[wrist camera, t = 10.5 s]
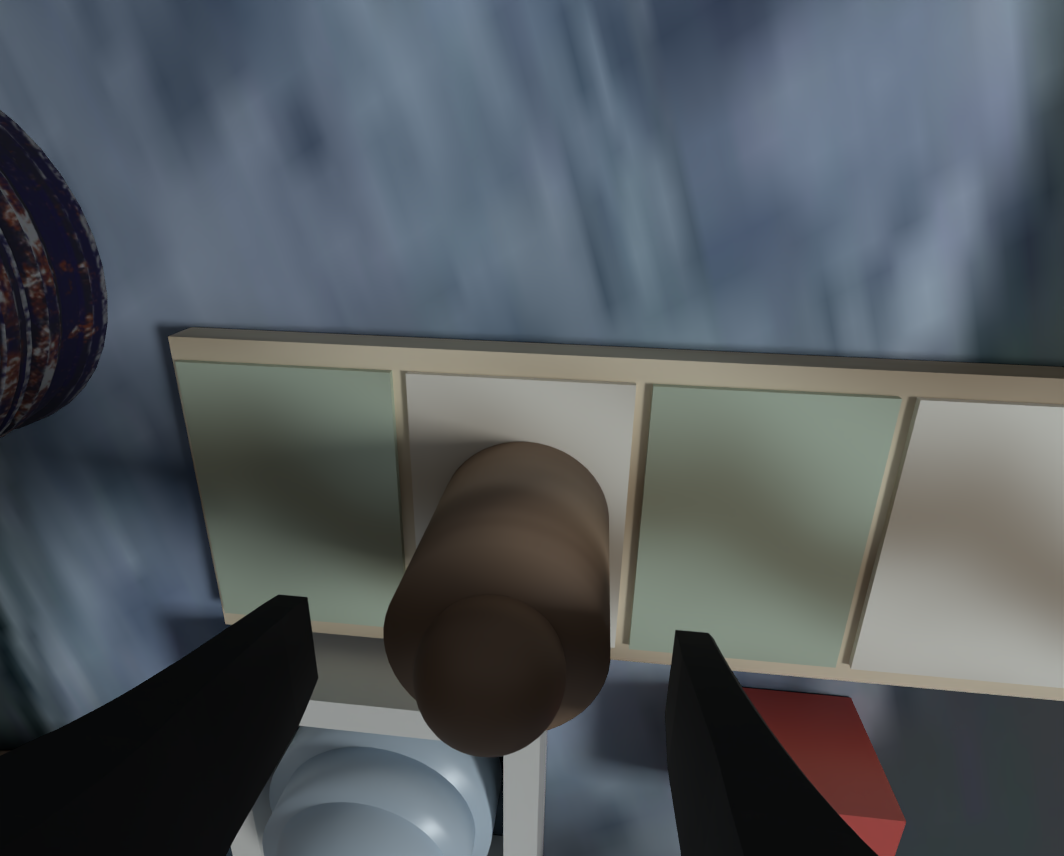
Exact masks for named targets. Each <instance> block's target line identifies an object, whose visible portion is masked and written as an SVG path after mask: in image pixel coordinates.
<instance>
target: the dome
mask: <svg viewBox="0 0 1064 856" xmlns="http://www.w3.org/2000/svg"><path fill="white" fill-rule="evenodd" d="M501 780H502V771H501V763H500V760H499V757H477V756H471V755H468V754H465V753H462V752H460V751H457V750H455V749H453V748H451V747H450V746H448V745H447V744H445V743H444V742H443V741H439V740H429V739H420V738H411V737H401V736H392V735H382V734H373V733H363V732H354V731H345V730H335V729H326V728H316V727H307V726H300V727H299V729H298V730H297V732H296V734H295V736H294V738H293V740H292V741H291V743H290V745H289V747H288V749H287V750H286V752H285V754H284V756H283V758H282V760H281V761H280V763H279V765H278V767H277V769H276V771H275V773H274V775H273V777H272V780H271V784H270V790H269V801H270V808H271V812H272V814H271V816H270V818H269V820H268V822H267V824H266V826H265V829H264V833H263V841H262V845H263V853H264V856H487V854H488V852H489V848H490V845H491V840H492V834H493V828H494V823H495V817H496V811H497V806H498V800H499V794H500V789H501Z"/></svg>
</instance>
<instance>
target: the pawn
mask: <svg viewBox="0 0 1064 856" xmlns="http://www.w3.org/2000/svg"><path fill="white" fill-rule="evenodd" d="M383 640H384V646H385V652H386V655H387V658H388V661H389V664H390V666H391V668H392V670H393V672H394V674H395V676H396V677H397V679H398V680H399V682H400V683H401V685H402V686H403V687H404V688H405V690H406V691H407V692H408V693H409V694H410V695H411V696H412V697H413V698H414V699H415V700H416V702H417V706H418V709H419V711H420V713H421V715H422V717H423V719H424V721H425V722H426V724H427V725H428V727H429V728H430V729H431V730H432V732H433V733H434V734H435V735H436V736H437V737H438V738H439V739H440V740H441V741H443V742H444V743H445V744H447V745H448V746H450V747H451V748H453V749H455V750H457V751H460V752H462V753H465V754H468V755H471V756H477V757H499V756H505V755H508V754H511V753H514V752H516V751H519V750H521V749H523V748H525V747H527V746H528V745H529V744H531V743H532V742H533V741H535V740H536V739H537V738H539V737H540V736H541V735H542V734H543V733H544V731H546V730H550V729H552V728H555V727H557V726H560V725H562V724H564V723H566V722H568V721H569V720H571V719H573V718H574V717H576V716H577V715H578V714H580V713H581V712H583V711H584V710H585V709H586V708H587V707H588V706H589V705H590V704H591V703H592V702H593V700H594V699H595V698H596V696H597V695H598V694H599V692H600V690H601V688H602V687H603V685H604V683H605V680H606V677H607V674H608V671H609V666H610V651H611V646H610V561H609V512H608V505H607V502H606V499H605V495H604V493H603V491H602V489H601V487H600V485H599V484H598V482H597V480H596V479H595V477H594V476H593V475H592V474H591V473H590V472H589V470H588V469H587V468H586V467H585V466H583V465H582V464H581V463H580V462H579V461H578V460H576V459H575V458H573V457H572V456H570V455H569V454H567V453H565V452H563V451H561V450H559V449H556V448H554V447H551V446H548V445H544V444H540V443H534V442H508V443H502V444H498V445H494V446H491V447H488V448H486V449H483V450H481V451H480V452H478V453H476V454H474V455H473V456H471V457H470V458H469V459H467V460H466V461H465V462H464V463H463V464H462V465H461V466H460V467H459V468H458V469H457V471H456V472H455V473H454V475H453V476H452V478H451V480H450V481H449V483H448V485H447V487H446V489H445V491H444V493H443V495H442V497H441V500H440V502H439V504H438V506H437V508H436V510H435V512H434V514H433V516H432V518H431V520H430V522H429V524H428V526H427V528H426V530H425V532H424V534H423V536H422V538H421V541H420V543H419V545H418V547H417V549H416V551H415V553H414V555H413V557H412V559H411V561H410V563H409V565H408V567H407V569H406V571H405V573H404V575H403V577H402V579H401V581H400V584H399V586H398V588H397V590H396V592H395V594H394V596H393V598H392V600H391V602H390V604H389V607H388V610H387V613H386V615H385V621H384V627H383Z"/></svg>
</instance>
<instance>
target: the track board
mask: <svg viewBox="0 0 1064 856" xmlns="http://www.w3.org/2000/svg"><path fill="white" fill-rule="evenodd" d="M168 340H169V345H170V350H171V355H172V360H173V365H174V370H175V375H176V380H177V385H178V390H179V395H180V400H181V405H182V410H183V415H184V420H185V424H186V429H187V434H188V439H189V444H190V449H191V454H192V459H193V464H194V469H195V474H196V479H197V484H198V489H199V494H200V499H201V504H202V509H203V514H204V519H205V524H206V529H207V534H208V539H209V544H210V549H211V554H212V559H213V564H214V569H215V574H216V579H217V584H218V589H219V594H220V599H221V604H222V609H223V614H224V619H225V624H230V625H233V624H234V623H236V622H237V621H239V620H240V619H242V618H243V617H244V616H246V615H247V614H249V613H250V612H252V611H253V610H255V609H256V608H258V607H259V606H261V605H262V604H264V603H265V602H267V601H269V600H270V599H272V598H273V597H275V596H277V595H278V594H279V595H290V596H301V597H308V604H309V612H310V619H311V626H312V632H317V633H328V634H339V635H350V636H361V637H372V638H382V639H383V627H384V621H385V615H386V613H387V610H388V607H389V604H390V602H391V600H392V598H393V596H394V594H395V592H396V590H397V588H398V586H399V584H400V581H401V579H402V577H403V575H404V573H405V571H406V569H407V567H408V565H409V563H410V561H411V559H412V557H413V555H414V553H415V551H416V549H417V547H418V545H419V543H420V541H421V538H422V536H423V534H424V532H425V530H426V528H427V526H428V524H429V522H430V520H431V518H432V516H433V514H434V512H435V510H436V508H437V506H438V504H439V502H440V500H441V497H442V495H443V493H444V491H445V489H446V487H447V485H448V483H449V481H450V480H451V478H452V476H453V475H454V473H455V472H456V471H457V469H458V468H459V467H460V466H461V465H462V464H463V463H464V462H465V461H466V460H467V459H469V458H470V457H471V456H473V455H474V454H476V453H478V452H480V451H481V450H483V449H486V448H488V447H491V446H494V445H498V444H502V443H508V442H534V443H540V444H544V445H548V446H551V447H554V448H556V449H559V450H561V451H563V452H565V453H567V454H569V455H570V456H572V457H573V458H575V459H576V460H578V461H579V462H580V463H581V464H582V465H583V466H585V467H586V468H587V469H588V470H589V472H590V473H591V474H592V475H593V476H594V477H595V479H596V480H597V482H598V484H599V485H600V487H601V489H602V491H603V493H604V495H605V499H606V502H607V505H608V512H609V561H610V646H611V651H610V659H612V660H623V661H633V662H644V663H655V664H666V665H671V661H672V653H673V645H674V637H675V630H683V631H694V632H705V633H709V634H710V635H711V636H712V637H713V638H714V640H715V642H716V644H717V646H718V647H719V649H720V651H721V653H722V655H723V656H724V658H725V660H726V662H727V663H728V665H729V667H730V668H731V670H732V671H743V672H753V673H764V674H775V675H786V676H797V677H808V678H819V679H830V680H841V681H852V682H863V683H874V684H884V685H895V686H906V687H917V688H928V689H939V690H950V691H961V692H972V693H983V694H994V695H1004V696H1015V697H1026V698H1037V699H1048V700H1059V701H1064V367H1052V366H1030V365H1008V364H986V363H964V362H942V361H920V360H899V359H877V358H855V357H833V356H811V355H789V354H767V353H745V352H724V351H702V350H680V349H658V348H636V347H614V346H592V345H571V344H549V343H527V342H505V341H483V340H461V339H439V338H417V337H396V336H374V335H352V334H330V333H308V332H286V331H264V330H242V329H221V328H199V327H190V328H188V329H185V330H183V331H180V332H178V333H175V334H173V335H170V336H168Z"/></svg>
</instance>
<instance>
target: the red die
mask: <svg viewBox="0 0 1064 856" xmlns="http://www.w3.org/2000/svg"><path fill="white" fill-rule="evenodd" d="M742 688H743V687H742ZM743 690H744V691H745V693H746V694H747V696H748V697H749V699H750V700H751V702H752V703H753V705H754V706H755V708H756V709H757V711H758V712H759V714H760V715H761V716H762V718H763V719H764V721H765V722H766V724H767V725H768V727H769V728H770V730H771V731H772V732H773V734H774V735H775V736H776V738H777V739H778V741H779V742H780V743H781V745H782V746H783V747H784V749H785V750H786V751H787V753H788V754H789V755H790V756H791V758H792V759H793V760H794V762H795V763H796V764H797V766H798V767H799V768H800V769H801V771H802V772H803V773H804V774H805V776H806V777H807V778H808V779H809V781H810V782H811V783H812V784H813V785H814V787H815V788H816V789H817V790H818V791H819V793H820V794H821V795H822V796H823V797H824V798H825V799H826V801H827V802H828V803H829V804H830V805H831V806H832V807H833V809H834V810H835V811H836V812H837V813H838V814H839V815H840V816H841V818H842V819H843V820H844V821H845V822H846V823H847V824H848V825H849V826H850V827H851V828H852V829H853V830H854V831H855V832H856V834H857V835H858V836H859V837H860V838H861V839H862V840H863V841H864V842H865V843H866V844H867V845H868V846H869V847H870V848H871V849H872V850H873V851H874V852H875V853H876V854H877V855H878V856H895V853H896V850H897V847H898V844H899V841H900V838H901V836H902V833H903V830H904V827H905V824H906V820H905V818H904V816H903V813H902V811H901V809H900V807H899V804H898V802H897V800H896V798H895V795H894V793H893V791H892V789H891V787H890V784H889V782H888V780H887V778H886V775H885V773H884V771H883V769H882V766H881V764H880V762H879V760H878V757H877V755H876V753H875V751H874V749H873V746H872V744H871V742H870V740H869V737H868V735H867V733H866V731H865V728H864V726H863V724H862V722H861V719H860V717H859V715H858V713H857V710H856V708H855V706H854V704H853V702H852V699H851V698H849V697H838V696H828V695H817V694H807V693H796V692H785V691H775V690H764V689H753V688H743Z"/></svg>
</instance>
